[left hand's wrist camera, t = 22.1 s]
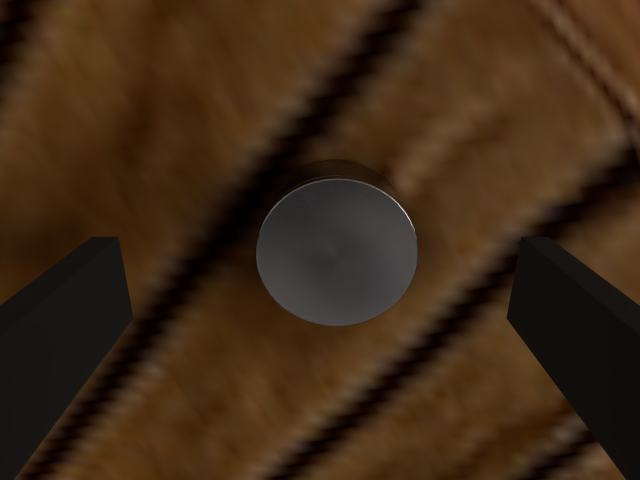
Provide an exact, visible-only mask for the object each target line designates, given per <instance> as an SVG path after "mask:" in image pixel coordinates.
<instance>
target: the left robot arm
mask: <svg viewBox="0 0 640 480" xmlns="http://www.w3.org/2000/svg"><path fill="white" fill-rule="evenodd" d="M132 319H133V314H132V308H131V303H130V298H129V292H128V287H127V281H126V276H125V271H124V265H123V260H122V255H121V249H120V244H119V238H118V237H91V238H90V239H89V240H87V241H86V242H85V243H83V244H82V245H81V246H79V247H78V248H77V249H75V250H74V251H73V252H71V253H70V254H69V255H67V256H66V257H65V258H63V259H62V260H61V261H59V262H58V263H57V264H55V265H54V266H53V267H51V268H50V269H49V270H47V271H46V272H45V273H43V274H42V275H41V276H39V277H38V278H37V279H35V280H34V281H33V282H31V283H30V284H29V285H27V286H26V287H25V288H23V289H22V290H21V291H19V292H18V293H17V294H15V295H14V296H13V297H11V298H10V299H9V300H7V301H6V302H5V303H3V304H2V305H0V480H14V478H15V477H16V476H17V474H18V473H19V472H20V470H21V469H22V468H23V466H24V465H25V464H26V462H27V461H28V460H29V458H30V457H31V456H32V454H33V453H34V451H35V450H36V449H37V447H38V446H39V445H40V443H41V442H42V441H43V439H44V438H45V437H46V435H47V434H48V433H49V431H50V430H51V429H52V427H53V426H54V425H55V423H56V422H57V420H58V419H59V418H60V416H61V415H62V414H63V412H64V411H65V410H66V408H67V407H68V406H69V404H70V403H71V402H72V400H73V399H74V398H75V396H76V395H77V394H78V392H79V391H80V389H81V388H82V387H83V385H84V384H85V383H86V381H87V380H88V379H89V377H90V376H91V375H92V373H93V372H94V371H95V369H96V368H97V367H98V365H99V364H100V363H101V361H102V360H103V358H104V357H105V356H106V354H107V353H108V352H109V350H110V349H111V348H112V346H113V345H114V344H115V342H116V341H117V340H118V338H119V337H120V336H121V334H122V333H123V332H124V330H125V329H126V327H127V326H128V325H129V323H130V322H131V321H132ZM507 319H508V321H509V322H510V324H511V325H512V326H513V328H514V329H515V330H516V332H517V333H518V334H519V336H520V337H521V338H522V340H523V341H524V342H525V344H526V345H527V346H528V348H529V349H530V350H531V352H532V353H533V355H534V356H535V357H536V359H537V360H538V361H539V363H540V364H541V365H542V367H543V368H544V369H545V371H546V372H547V373H548V375H549V376H550V377H551V379H552V380H553V381H554V383H555V384H556V386H557V387H558V388H559V390H560V391H561V392H562V394H563V395H564V396H565V398H566V399H567V400H568V402H569V403H570V404H571V406H572V407H573V408H574V410H575V411H576V412H577V414H578V415H579V417H580V418H581V419H582V421H583V422H584V423H585V425H586V426H587V427H588V429H589V430H590V431H591V433H592V434H593V435H594V437H595V438H596V439H597V441H598V442H599V443H600V445H601V446H602V448H603V449H604V450H605V452H606V453H607V454H608V456H609V457H610V458H611V460H612V461H613V462H614V464H615V465H616V466H617V468H618V469H619V470H620V472H621V473H622V474H623V476H624V477H625V479H626V480H640V306H639V305H638V304H637V303H635V302H634V301H633V300H631V299H630V298H629V297H627V296H626V295H625V294H623V293H622V292H621V291H619V290H618V289H617V288H615V287H614V286H613V285H611V284H610V283H609V282H607V281H606V280H605V279H603V278H602V277H601V276H599V275H598V274H597V273H595V272H594V271H593V270H591V269H590V268H589V267H587V266H586V265H585V264H583V263H582V262H581V261H579V260H578V259H577V258H575V257H574V256H573V255H571V254H570V253H569V252H567V251H566V250H565V249H563V248H562V247H561V246H559V245H558V244H556V243H555V242H554V241H552V240H551V239H550V238H548V237H522V238H521V243H520V249H519V254H518V260H517V265H516V270H515V276H514V281H513V286H512V292H511V297H510V303H509V308H508V313H507Z"/></svg>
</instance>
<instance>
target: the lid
mask: <svg viewBox="0 0 640 480" xmlns="http://www.w3.org/2000/svg"><path fill="white" fill-rule="evenodd" d="M256 261H257V268H258V271H259V274H260V277H261V280H262V282H263V284H264V286H265V287H266V289H267V291H268V292H269V294H270V295H271V296H272V297H273V298H274V300H275V301H276V302H277V303H278V304H279V305H280V306H282V307H283V308H284V309H285V310H287V311H288V312H290V313H291V314H293V315H295V316H297V317H298V318H301V319H303V320H306V321H308V322H312V323H315V324H320V325H326V326H347V325H353V324H358V323H361V322H365V321H367V320H370V319H372V318H375V317H376V316H378V315H380V314H382V313H384V312H385V311H386V310H388V309H389V308H390V307H392V306H393V305H394V304H395V303H396V302H397V301H398V300H399V299H400V298H401V297H402V295H403V294H404V293H405V291H406V290H407V288H408V287H409V285H410V283H411V281H412V279H413V277H414V274H415V271H416V267H417V262H418V241H417V235H416V232H415V228H414V226H413V224H412V222H411V219H410V217H409V216H408V214H407V212H406V210H405V208H404V206H403V204H402V202H401V200H400V199H399V197H398V195H397V193H396V192H395V190H394V189H393V187H392V186H391V185H390V184H389V182H388V181H387V180H386V179H385V178H383V177H382V176H381V175H380V174H378V173H377V172H375V171H374V170H372V169H371V168H368V167H366V166H364V165H362V164H359V163H356V162H351V161H346V160H327V161H321V162H316V163H313V164H311V165H308V166H306V167H304V168H302V169H300V170H298V171H296V172H295V173H293V174H292V175H291V176H290V177H288V178H287V179H286V180H285V181H284V182H283V183H282V184H281V186H280V187H279V188H278V189H277V191H276V193H275V194H274V196H273V198H272V200H271V202H270V205H269V207H268V210H267V212H266V215H265V217H264V220H263V223H262V225H261V228H260V231H259V234H258V238H257V244H256Z"/></svg>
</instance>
